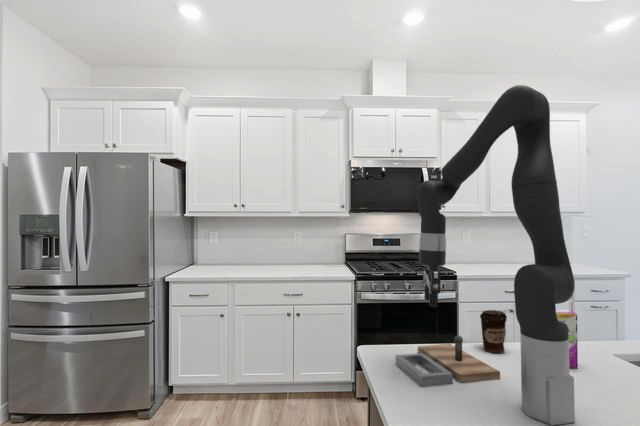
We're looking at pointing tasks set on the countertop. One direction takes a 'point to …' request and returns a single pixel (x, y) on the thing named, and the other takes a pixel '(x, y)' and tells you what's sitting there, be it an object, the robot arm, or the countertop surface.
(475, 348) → the countertop surface
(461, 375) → the board
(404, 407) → the countertop surface
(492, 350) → the coffee cup
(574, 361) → the candy bar box
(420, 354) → the grey picture frame
